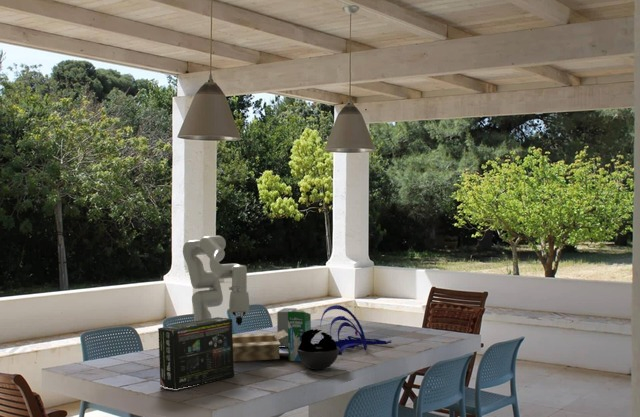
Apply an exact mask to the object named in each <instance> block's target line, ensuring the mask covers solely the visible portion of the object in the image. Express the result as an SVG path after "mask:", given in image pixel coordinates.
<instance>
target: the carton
mask: <svg viewBox="0 0 640 417" xmlns="http://www.w3.org/2000/svg"><path fill="white" fill-rule="evenodd" d="M232 338H233V362H234V363H235V362H249V361H250V362H252V361H267V360H268V361H269V360H280V348H279V345H281V344H280V342H279V340H278V339H277V337H276V336H275V333H273V332H266V333H264V332H263V333H244V334H243V333H242V334H232Z"/></svg>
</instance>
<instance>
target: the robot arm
mask: <svg viewBox="0 0 640 417" xmlns="http://www.w3.org/2000/svg"><path fill="white" fill-rule="evenodd" d="M226 244H227V243H226V239H225V237H223V236H221V235H206V236H203V237H202V238H200V239H192V240H187V241H186V242H184V244H183V247H182V255H183V259H184V261H185V263H186V265H187V270H188V275H189V279H190V284H191V287H192V288H193V289H195V290H198V291H196V292H194V293H193V295H192V296H191V303H192V309H193V322H194V321H200V320H205V319H211V318H213V316H212V314H211V312H210V310H209V309H208V308H212V307H220V306H221V305H222V304H223V300H224V296H223V291H222V285H221V281H220V280H222V279H223V280H224V279H225V280H226V279H231V286H229V287H228V290H229V291H230V294H229V302H228V303H229V304H228V308H229V309H228V314H230V315H234V316H235V319H236V320H235V323H236V324H237V326H239V325H240V326H241V325H242V324H243V317H244V316H245V315H247V314H249V313H250V297H249V296H250V295H249V292H248V291H247V282H248V281H247V278H248V276H247V274H248V273H247V272H248V269H247V266H246V265H244V264H239V263H220V262H221V261H223V259H224V258H225V255H226V252H225V250H224V249H225V248H226V246H227V245H226ZM201 255H202V256H203V255H206V256H207V257H208V259H209V268H210V270H205V268H204V264H203V261H202V259H201V258H199V257H198V256H201ZM202 289H205V290H202ZM238 313H240V314H238Z"/></svg>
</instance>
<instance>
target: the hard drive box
mask: <svg viewBox="0 0 640 417" xmlns="http://www.w3.org/2000/svg"><path fill="white" fill-rule="evenodd" d="M297 310H298V309H297V308H295V307H294V308H293V307H290V308H289V307H285V308H284V307H283V308H282V309H280V310H279V311H277V314H276V316H277V320H276V321H277V323H276V324H277V328H276V330H277V332H280V331H282V330H285V332H286V333H287V334H288V311H290V312H297ZM277 332H276V333H277ZM279 342H280V344H281V345H279V346H285V347H288V337H286V338H283V339H281V340H279Z"/></svg>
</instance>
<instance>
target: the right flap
mask: <svg viewBox="0 0 640 417" xmlns="http://www.w3.org/2000/svg"><path fill="white" fill-rule="evenodd" d="M274 335H275V336H276V338H277V339H278V340H281V339H283V338H286V337H288V334H287V333H286V332H285V330H282V331H280V332H275V333H274Z"/></svg>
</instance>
